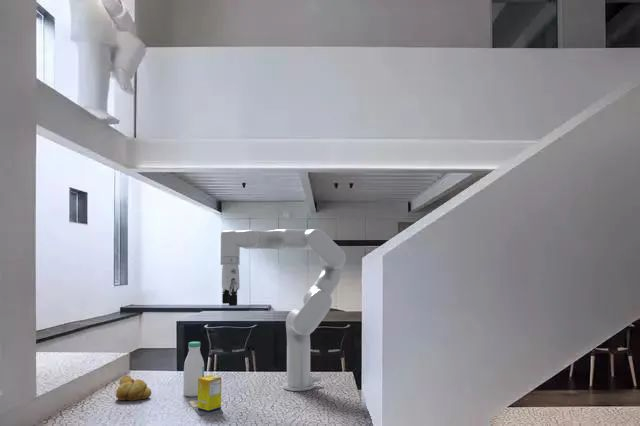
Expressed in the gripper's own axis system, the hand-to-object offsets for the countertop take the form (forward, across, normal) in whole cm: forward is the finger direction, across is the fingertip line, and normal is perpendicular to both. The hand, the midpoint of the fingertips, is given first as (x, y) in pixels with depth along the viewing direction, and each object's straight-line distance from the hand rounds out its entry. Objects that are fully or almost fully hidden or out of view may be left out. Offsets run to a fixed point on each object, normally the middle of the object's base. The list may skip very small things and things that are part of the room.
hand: (229, 304), depth 218 cm
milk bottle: (+34, +3, +13) cm, 37 cm away
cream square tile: (+34, -12, +13) cm, 39 cm away
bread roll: (+35, +6, +35) cm, 50 cm away
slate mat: (+34, -22, +13) cm, 43 cm away
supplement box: (+34, -22, +13) cm, 42 cm away
